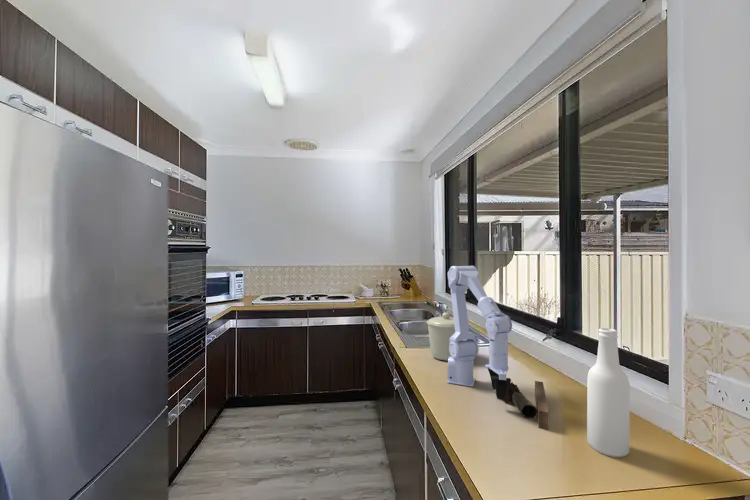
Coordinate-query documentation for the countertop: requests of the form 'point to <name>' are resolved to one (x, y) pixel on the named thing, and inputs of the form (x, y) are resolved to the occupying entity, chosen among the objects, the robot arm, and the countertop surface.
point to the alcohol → (608, 399)
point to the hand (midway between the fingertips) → (498, 394)
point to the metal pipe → (520, 401)
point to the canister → (441, 335)
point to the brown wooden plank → (541, 406)
